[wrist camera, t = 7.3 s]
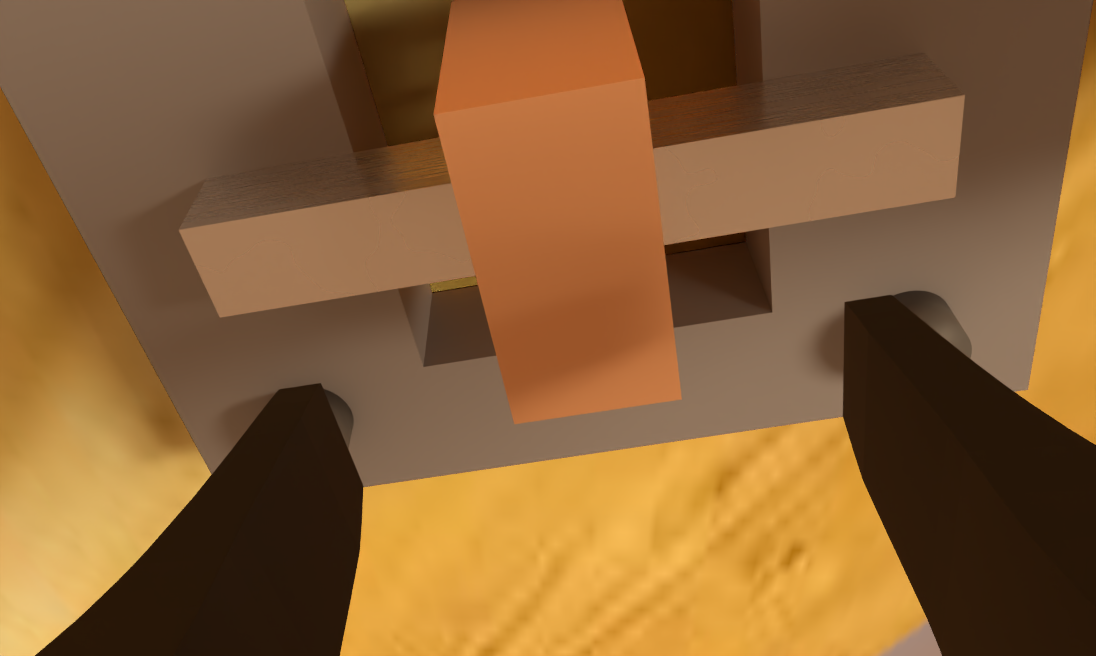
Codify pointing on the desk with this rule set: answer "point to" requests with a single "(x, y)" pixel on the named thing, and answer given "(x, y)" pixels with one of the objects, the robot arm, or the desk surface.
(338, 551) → the robot arm
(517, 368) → the orange rectangular block
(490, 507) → the desk surface
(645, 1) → the desk surface
